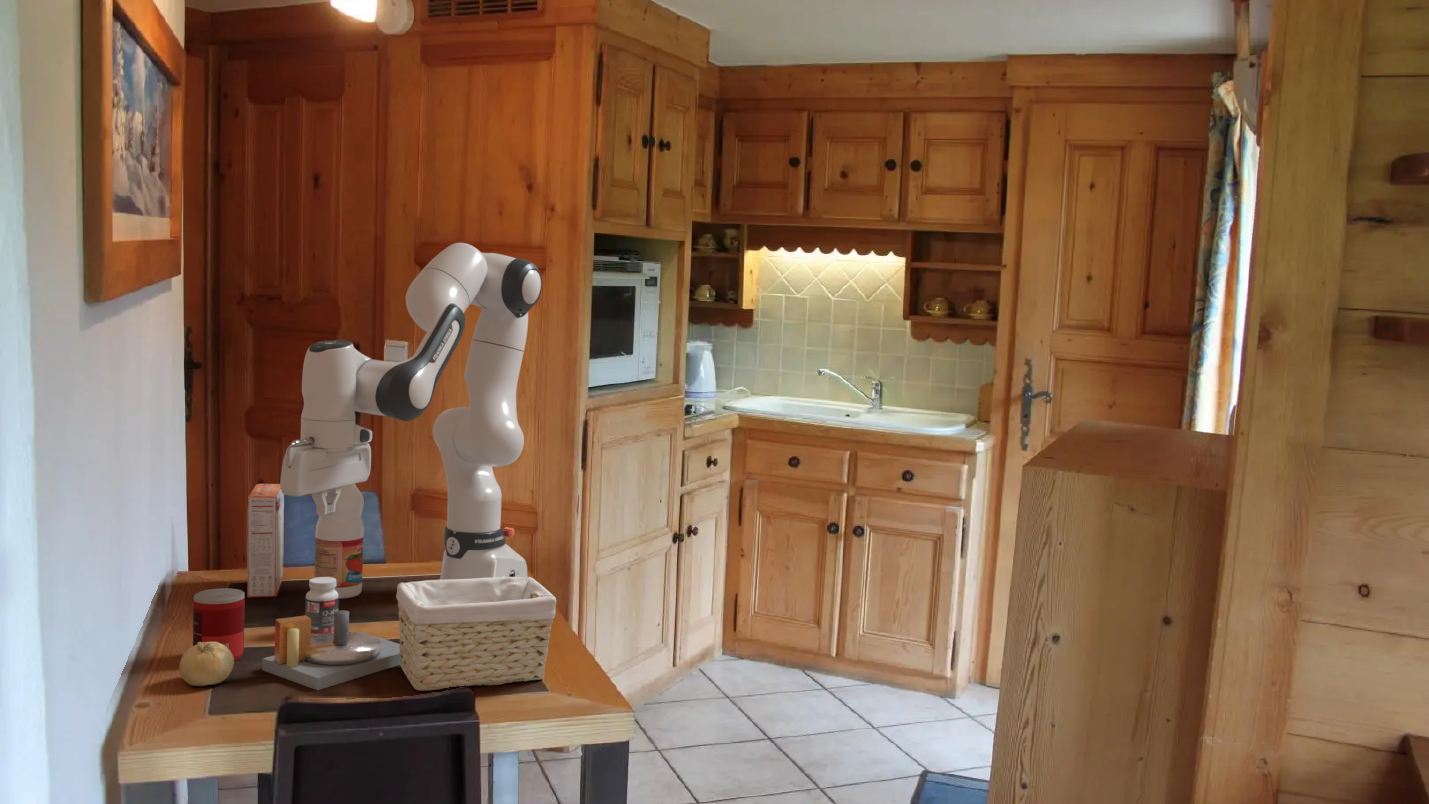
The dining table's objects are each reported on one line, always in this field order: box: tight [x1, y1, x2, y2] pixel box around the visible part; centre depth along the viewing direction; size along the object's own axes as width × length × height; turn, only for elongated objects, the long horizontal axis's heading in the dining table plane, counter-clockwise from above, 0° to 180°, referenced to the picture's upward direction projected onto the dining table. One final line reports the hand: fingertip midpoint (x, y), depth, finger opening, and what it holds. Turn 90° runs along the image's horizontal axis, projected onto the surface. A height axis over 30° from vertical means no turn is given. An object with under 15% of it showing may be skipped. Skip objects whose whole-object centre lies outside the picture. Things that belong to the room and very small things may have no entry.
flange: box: [274, 614, 381, 665], centre depth 188 cm, size 13×17×7 cm
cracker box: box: [246, 483, 285, 599], centre depth 232 cm, size 14×6×21 cm, turn 15°
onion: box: [178, 642, 235, 687], centre depth 178 cm, size 8×8×7 cm
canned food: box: [192, 587, 246, 662], centre depth 189 cm, size 8×8×11 cm
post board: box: [261, 609, 400, 691], centre depth 189 cm, size 20×14×9 cm
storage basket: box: [395, 576, 557, 692], centre depth 189 cm, size 24×16×15 cm
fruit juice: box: [313, 484, 365, 600], centre depth 231 cm, size 9×9×28 cm
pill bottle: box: [304, 577, 339, 637], centre depth 206 cm, size 6×6×10 cm
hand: (325, 514), depth 195 cm, fingers closed
